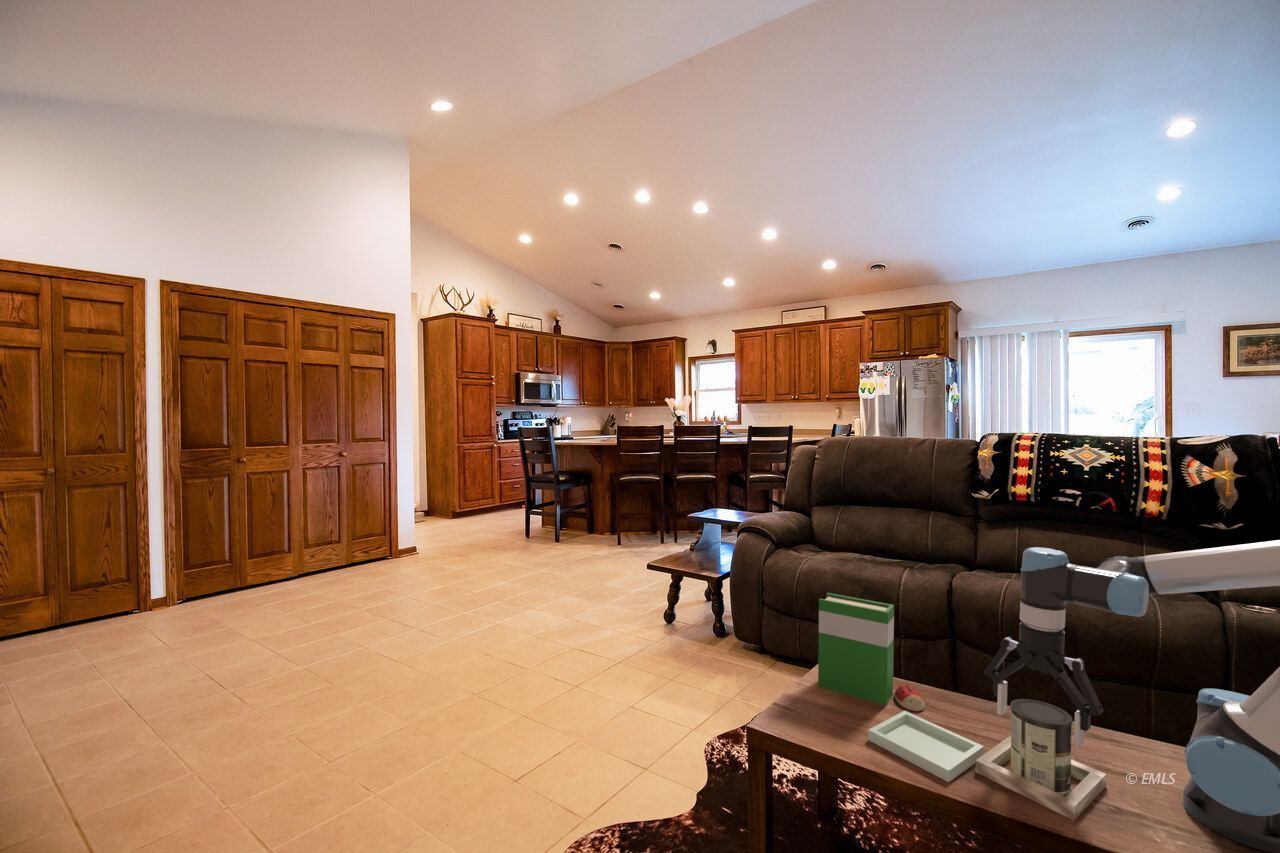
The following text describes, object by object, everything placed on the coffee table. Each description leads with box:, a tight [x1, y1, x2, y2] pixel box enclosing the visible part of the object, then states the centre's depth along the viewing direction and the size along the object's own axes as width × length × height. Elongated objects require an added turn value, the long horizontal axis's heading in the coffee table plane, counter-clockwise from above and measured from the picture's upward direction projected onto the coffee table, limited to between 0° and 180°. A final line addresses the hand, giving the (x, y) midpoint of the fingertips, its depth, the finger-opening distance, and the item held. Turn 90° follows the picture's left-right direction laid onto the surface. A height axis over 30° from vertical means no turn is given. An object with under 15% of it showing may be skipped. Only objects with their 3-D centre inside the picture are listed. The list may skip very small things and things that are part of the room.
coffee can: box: [1009, 698, 1073, 796], centre depth 114 cm, size 10×10×14 cm
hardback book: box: [817, 592, 895, 707], centre depth 152 cm, size 18×7×24 cm, turn 55°
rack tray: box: [867, 710, 985, 783], centre depth 125 cm, size 18×15×2 cm
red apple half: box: [893, 684, 926, 712], centre depth 145 cm, size 7×10×4 cm
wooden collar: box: [975, 734, 1107, 821], centre depth 114 cm, size 17×17×2 cm
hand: (1038, 727), depth 115 cm, fingers open, 13 cm apart
